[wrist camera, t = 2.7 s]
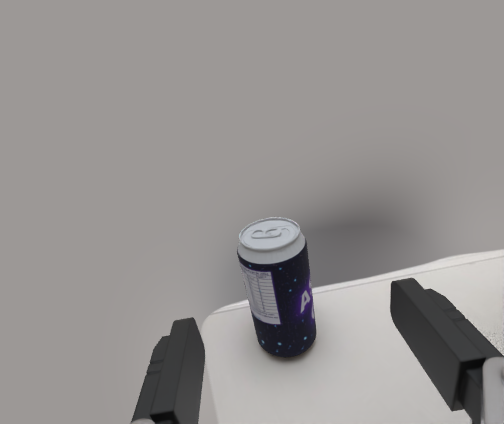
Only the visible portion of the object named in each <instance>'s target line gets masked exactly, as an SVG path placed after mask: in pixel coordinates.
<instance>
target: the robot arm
mask: <svg viewBox="0 0 504 424" xmlns="http://www.w3.org/2000/svg"><path fill="white" fill-rule="evenodd" d="M390 312H391V316H392V320H393V322H394V324H395V326H396V328H397V329H398V331H399V332H400V334H401V335H402V337H403V338H404V340H405V341H406V343H407V344H408V346H409V347H410V349H411V350H412V352H413V353H414V355H415V356H416V358H417V359H418V361H419V362H420V364H421V366H422V367H423V369H424V370H425V372H426V373H427V375H428V376H429V378H430V379H431V381H432V382H433V384H434V385H435V387H436V388H437V390H438V391H439V393H440V394H441V396H442V397H443V399H444V400H445V402H446V403H447V405H448V406H449V408H450V409H451V411H457V410H463V409H465V411H466V412H467V414H468V415H469V416H470V418H471V420H470V424H504V356H503V355H502V354H501V353H500V352H499V351H498V350H497V349H496V348H495V347H494V346H493V345H492V344H491V343H490V342H489V341H488V340H487V339H486V338H485V337H484V336H483V335H482V334H481V333H480V332H479V331H478V330H477V329H476V328H475V327H474V325H473V324H472V323H471V322H470V321H469V320H468V319H465V316H464V315H463V314H462V313H461V312H460V311H459V310H457V309H456V307H455V306H454V305H453V304H452V303H451V302H450V301H449V300H448V299H447V298H446V297H445V296H443V295H441V294H439V293H438V292H436V291H434V290H432V289H426V290H424V289H423V287H422V286H421V285H420V284H419V283H418V282H417V281H416V280H415V279H414V278H408V279H402V280H397V281H392V283H391V302H390ZM204 364H205V349H204V344H203V341H202V338H201V335H200V333H199V330H198V327H197V325H196V322H195V319H194V318H187V319H181V320H176V321H174V322H173V326H172V329H171V333H170V335H169V336H164V337H162V338H161V339H160V341H159V342H158V344H157V345H156V346H155V348H154V350H153V353H152V356H151V360H150V364H149V366H148V370H147V375H146V376H145V379H144V383H143V386H142V389H141V392H140V396H139V399H138V402H137V405H136V409H135V412H134V415H133V418H132V421H131V423H130V424H198V419H199V409H200V400H201V391H202V382H203V373H204Z"/></svg>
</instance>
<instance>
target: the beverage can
mask: <svg viewBox="0 0 504 424" xmlns="http://www.w3.org/2000/svg"><path fill="white" fill-rule="evenodd" d="M239 240H240V242H239V245H238V249H237V254H238V258H239V262H240V266H241V270H242V275H243V279H244V283H245V287H246V292H247V296H248V300H249V305H250V309H251V313H252V317H253V321H254V326H255V330H256V334H257V338H258V341H259V344H260V345H261V347H262V348H263V349H264V350H265V351H267V352H268V353H270V354H272V355H275V356H279V357H292V356H296V355H299V354H301V353H303V352H305V351H306V350H307V349H308V348H309V347H310V346H311V345H312V344H313V342H314V340H315V337H316V324H315V315H314V306H313V296H312V287H311V279H310V269H309V260H308V251H307V243H306V239H305V237H304V236H303V234H302V233H301V232H300V227H299V225H298V224H297V223H296V222H295V221H293V220H290V219H287V218H281V217H273V218H265V219H261V220H257V221H255V222H253V223H251V224H249V225H247V226H246V227H245V228H244V229H243V230H242V231H241V233H240V234H239Z"/></svg>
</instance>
